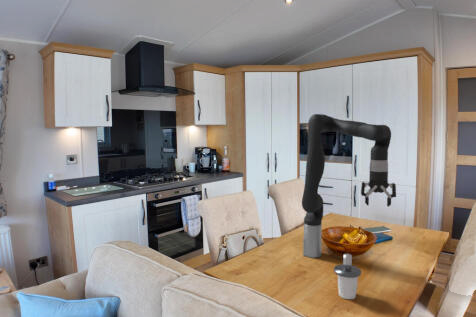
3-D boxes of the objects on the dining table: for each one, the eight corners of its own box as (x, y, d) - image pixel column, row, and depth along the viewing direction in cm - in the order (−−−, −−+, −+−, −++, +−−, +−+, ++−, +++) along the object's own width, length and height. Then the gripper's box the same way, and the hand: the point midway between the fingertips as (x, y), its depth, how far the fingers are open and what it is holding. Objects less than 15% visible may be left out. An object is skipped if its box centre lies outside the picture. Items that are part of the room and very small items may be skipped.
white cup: (334, 290, 135) (334, 268, 134) (352, 289, 135) (352, 267, 134) (341, 300, 127) (342, 276, 126) (360, 299, 127) (361, 275, 126)
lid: (333, 275, 127) (333, 258, 126) (333, 265, 137) (334, 249, 136) (362, 279, 124) (362, 261, 123) (360, 267, 134) (360, 251, 133)
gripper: (362, 170, 141) (361, 206, 142) (397, 171, 137) (396, 208, 138) (361, 168, 148) (360, 202, 149) (394, 169, 144) (393, 204, 145)
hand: (377, 205), depth 144 cm, fingers open, 8 cm apart
